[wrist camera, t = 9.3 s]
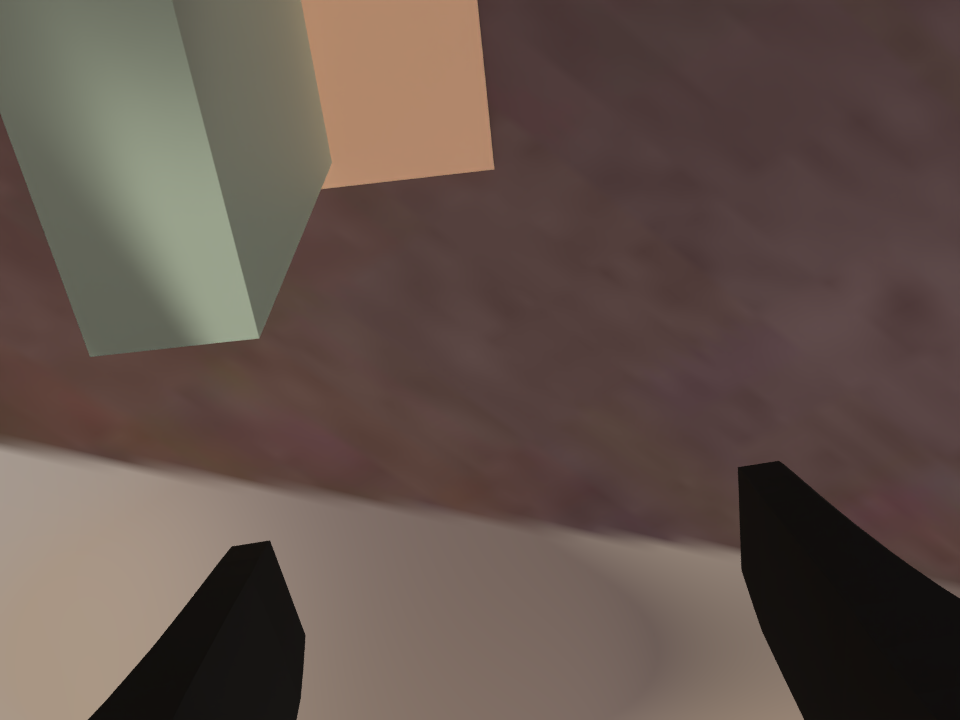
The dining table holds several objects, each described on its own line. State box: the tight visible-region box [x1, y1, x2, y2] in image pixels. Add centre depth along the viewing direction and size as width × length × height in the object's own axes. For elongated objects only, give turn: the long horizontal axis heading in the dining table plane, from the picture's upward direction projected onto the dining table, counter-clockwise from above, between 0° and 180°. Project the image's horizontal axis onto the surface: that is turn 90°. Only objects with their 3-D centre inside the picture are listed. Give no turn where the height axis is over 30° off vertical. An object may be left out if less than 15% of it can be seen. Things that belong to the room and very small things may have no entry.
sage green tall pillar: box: [0, 0, 332, 357], centre depth 15 cm, size 2×6×9 cm, turn 6°
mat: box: [301, 0, 494, 189], centre depth 19 cm, size 10×7×1 cm
